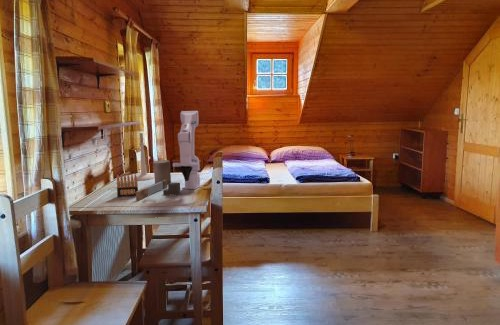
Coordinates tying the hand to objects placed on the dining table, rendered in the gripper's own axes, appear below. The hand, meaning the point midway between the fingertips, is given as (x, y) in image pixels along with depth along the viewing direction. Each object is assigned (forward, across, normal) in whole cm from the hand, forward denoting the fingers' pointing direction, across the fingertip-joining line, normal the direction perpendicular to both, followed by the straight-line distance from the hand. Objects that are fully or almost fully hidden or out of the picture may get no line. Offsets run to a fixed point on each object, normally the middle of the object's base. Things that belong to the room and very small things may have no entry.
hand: (186, 180), depth 200 cm
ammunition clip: (+8, -30, -9) cm, 32 cm away
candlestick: (+8, -47, +35) cm, 59 cm away
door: (+7, -20, +2) cm, 21 cm away
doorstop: (+8, -9, 0) cm, 12 cm away
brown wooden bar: (+8, -20, 0) cm, 21 cm away
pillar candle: (+8, -27, +23) cm, 36 cm away
